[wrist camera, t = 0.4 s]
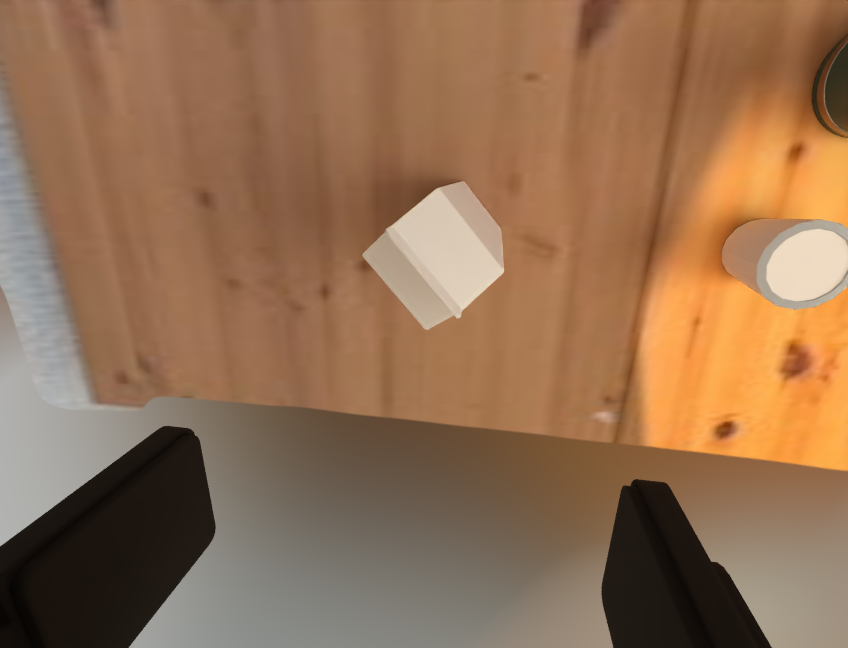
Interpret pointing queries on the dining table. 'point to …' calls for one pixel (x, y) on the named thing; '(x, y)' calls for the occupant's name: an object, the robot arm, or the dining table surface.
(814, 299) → the shot glass
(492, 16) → the dining table surface
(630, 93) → the dining table surface
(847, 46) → the green can
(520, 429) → the dining table surface
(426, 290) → the milk
